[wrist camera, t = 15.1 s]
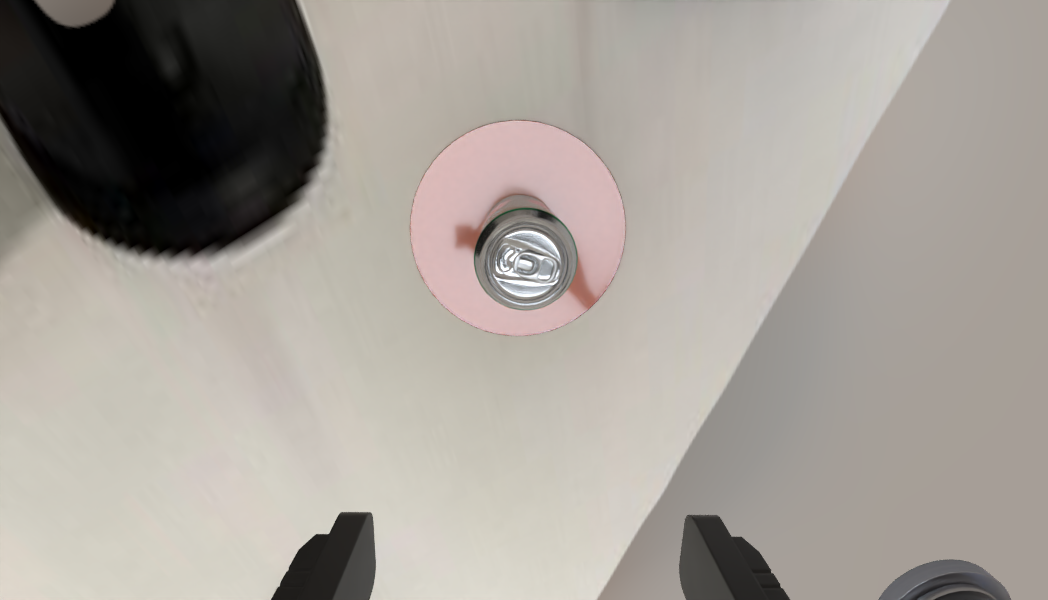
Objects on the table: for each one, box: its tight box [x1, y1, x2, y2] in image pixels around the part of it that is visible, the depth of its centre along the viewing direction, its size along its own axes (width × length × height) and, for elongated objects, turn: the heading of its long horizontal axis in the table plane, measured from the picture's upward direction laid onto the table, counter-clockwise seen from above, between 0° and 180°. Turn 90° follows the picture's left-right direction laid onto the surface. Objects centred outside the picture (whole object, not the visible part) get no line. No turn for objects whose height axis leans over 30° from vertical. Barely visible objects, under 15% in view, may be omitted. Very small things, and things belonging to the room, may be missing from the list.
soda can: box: [474, 195, 578, 310], centre depth 29 cm, size 5×5×12 cm
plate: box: [410, 120, 626, 336], centre depth 35 cm, size 15×15×1 cm
